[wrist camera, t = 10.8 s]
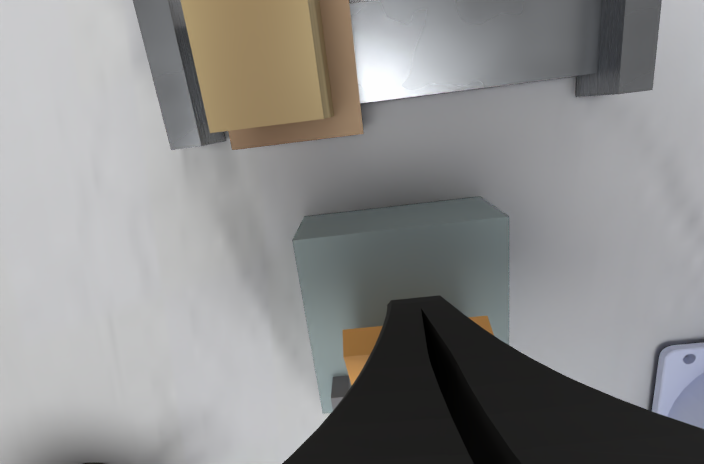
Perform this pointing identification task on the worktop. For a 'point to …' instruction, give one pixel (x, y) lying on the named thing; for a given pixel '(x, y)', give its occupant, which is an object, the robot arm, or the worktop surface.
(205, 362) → the worktop surface
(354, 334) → the flap
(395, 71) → the rail
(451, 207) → the grey-green square base
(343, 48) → the carriage
